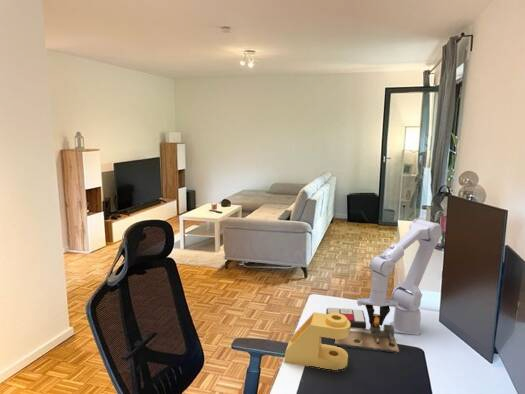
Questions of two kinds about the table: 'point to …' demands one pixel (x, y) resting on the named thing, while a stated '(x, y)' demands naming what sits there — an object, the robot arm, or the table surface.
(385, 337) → the board
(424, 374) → the table surface
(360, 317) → the button panel
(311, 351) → the yellow clevis bracket
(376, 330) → the slider leg
